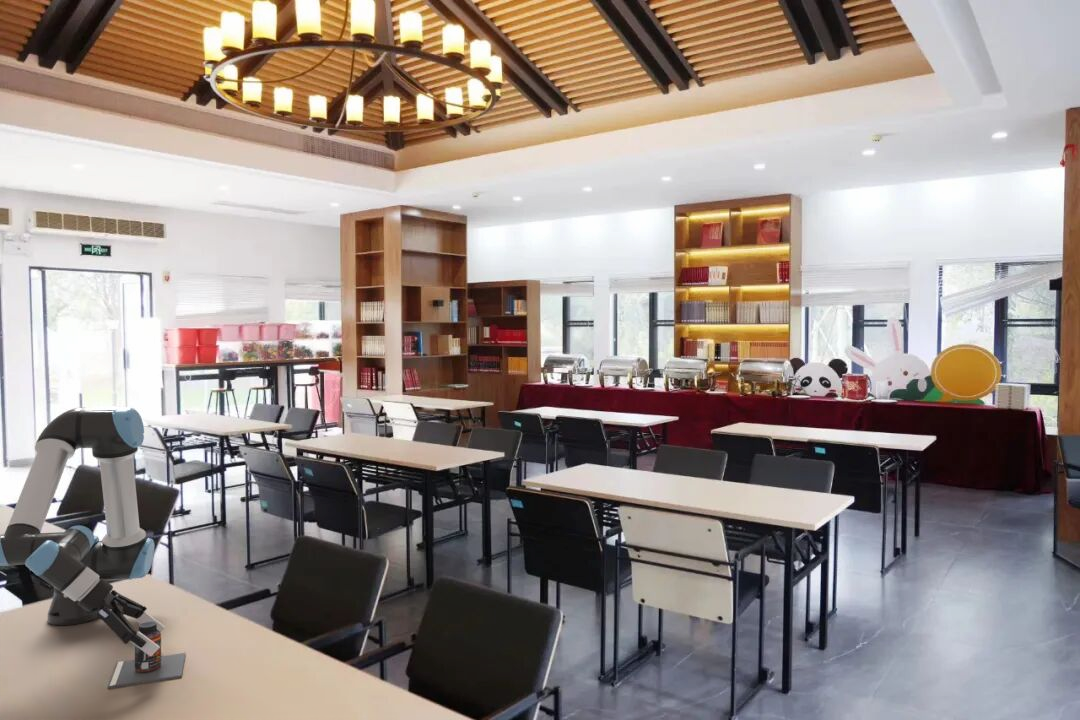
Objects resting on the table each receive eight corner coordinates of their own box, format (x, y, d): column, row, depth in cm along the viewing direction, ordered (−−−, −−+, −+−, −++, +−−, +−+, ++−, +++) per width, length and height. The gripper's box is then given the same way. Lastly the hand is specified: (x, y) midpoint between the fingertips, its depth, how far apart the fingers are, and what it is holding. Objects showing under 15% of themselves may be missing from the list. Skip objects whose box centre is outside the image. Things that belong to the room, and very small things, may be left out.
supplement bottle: (150, 674, 185) (149, 629, 185) (129, 672, 186) (128, 627, 186) (166, 664, 191) (166, 620, 191) (146, 662, 192) (145, 618, 192)
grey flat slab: (116, 664, 192) (116, 662, 192) (185, 654, 198) (185, 652, 198) (107, 688, 179) (107, 685, 179) (181, 677, 185) (181, 674, 185)
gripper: (86, 586, 194) (152, 634, 200) (65, 620, 170) (140, 674, 177) (109, 563, 195) (173, 612, 202) (91, 594, 172) (165, 648, 178)
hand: (158, 641), depth 189 cm, fingers open, 13 cm apart
